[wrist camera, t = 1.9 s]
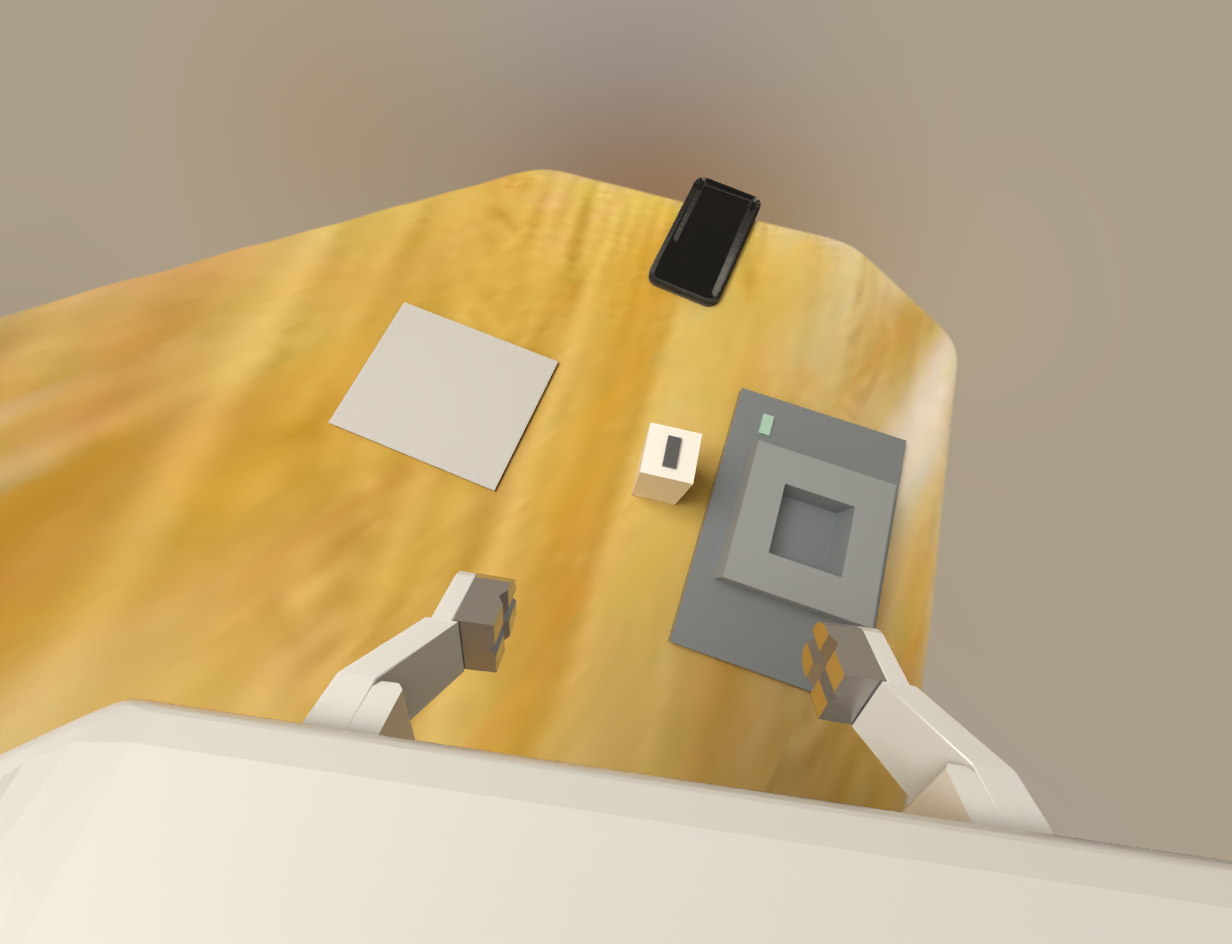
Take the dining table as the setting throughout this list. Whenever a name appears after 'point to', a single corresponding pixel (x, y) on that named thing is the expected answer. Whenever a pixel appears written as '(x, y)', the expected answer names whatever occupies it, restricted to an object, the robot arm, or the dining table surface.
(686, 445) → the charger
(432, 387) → the paper stack
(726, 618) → the power dock
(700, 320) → the dining table surface
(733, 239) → the phone
